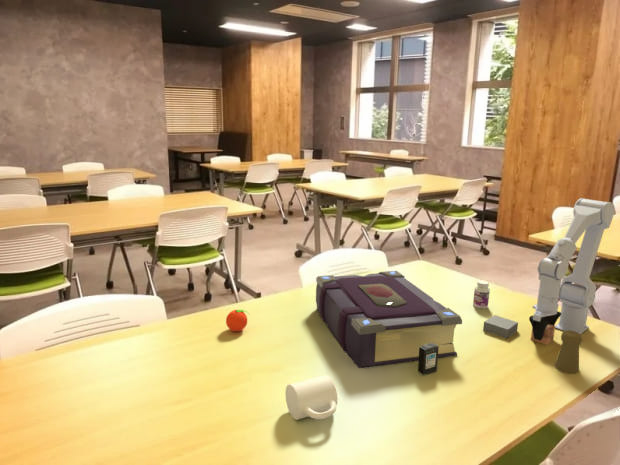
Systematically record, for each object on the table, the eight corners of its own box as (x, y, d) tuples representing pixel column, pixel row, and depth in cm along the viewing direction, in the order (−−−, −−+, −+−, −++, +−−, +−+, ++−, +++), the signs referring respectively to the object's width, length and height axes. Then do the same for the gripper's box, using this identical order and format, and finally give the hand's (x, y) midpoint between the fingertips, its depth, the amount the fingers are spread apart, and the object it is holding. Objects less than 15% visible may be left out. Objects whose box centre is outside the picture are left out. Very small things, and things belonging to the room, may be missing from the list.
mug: (285, 408, 111) (285, 378, 109) (321, 397, 116) (322, 368, 114) (307, 437, 101) (307, 405, 99) (346, 425, 105) (347, 394, 103)
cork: (582, 375, 128) (588, 338, 125) (558, 372, 129) (564, 336, 126) (574, 364, 133) (580, 329, 131) (552, 361, 135) (557, 326, 132)
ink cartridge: (423, 376, 126) (424, 349, 124) (417, 372, 128) (419, 345, 126) (437, 371, 128) (439, 345, 126) (431, 367, 130) (433, 342, 128)
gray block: (493, 324, 160) (494, 315, 159) (516, 332, 154) (518, 322, 153) (483, 331, 154) (484, 321, 154) (506, 339, 149) (507, 329, 148)
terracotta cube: (537, 335, 152) (539, 321, 151) (553, 340, 148) (555, 326, 147) (530, 339, 148) (532, 325, 147) (546, 345, 145) (549, 330, 144)
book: (353, 371, 128) (355, 324, 125) (311, 308, 171) (311, 272, 167) (459, 357, 137) (463, 313, 134) (394, 301, 179) (396, 266, 176)
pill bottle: (471, 306, 174) (473, 282, 172) (474, 302, 178) (477, 278, 176) (486, 310, 171) (489, 285, 169) (489, 305, 176) (491, 281, 173)
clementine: (246, 323, 157) (246, 304, 155) (253, 332, 151) (253, 311, 149) (223, 328, 153) (223, 308, 152) (229, 336, 147) (229, 315, 146)
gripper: (544, 287, 152) (539, 325, 156) (525, 297, 143) (520, 337, 146) (567, 293, 147) (561, 332, 150) (549, 304, 138) (543, 346, 141)
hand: (542, 335), depth 148 cm, fingers open, 7 cm apart
